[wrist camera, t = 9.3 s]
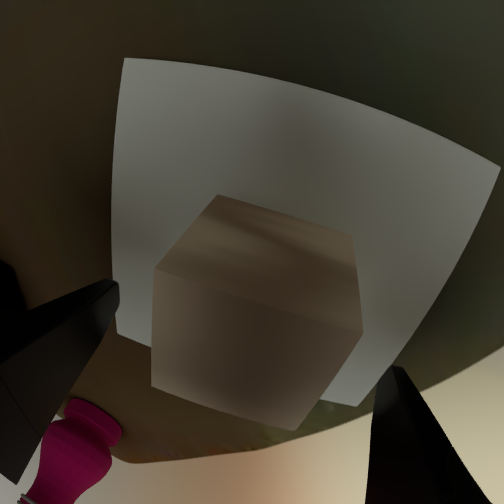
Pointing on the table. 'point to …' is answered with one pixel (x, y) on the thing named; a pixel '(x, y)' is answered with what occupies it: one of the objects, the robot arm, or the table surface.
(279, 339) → the birch cube
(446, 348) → the table surface
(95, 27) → the table surface
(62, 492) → the pepper mill
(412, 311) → the sage plate
